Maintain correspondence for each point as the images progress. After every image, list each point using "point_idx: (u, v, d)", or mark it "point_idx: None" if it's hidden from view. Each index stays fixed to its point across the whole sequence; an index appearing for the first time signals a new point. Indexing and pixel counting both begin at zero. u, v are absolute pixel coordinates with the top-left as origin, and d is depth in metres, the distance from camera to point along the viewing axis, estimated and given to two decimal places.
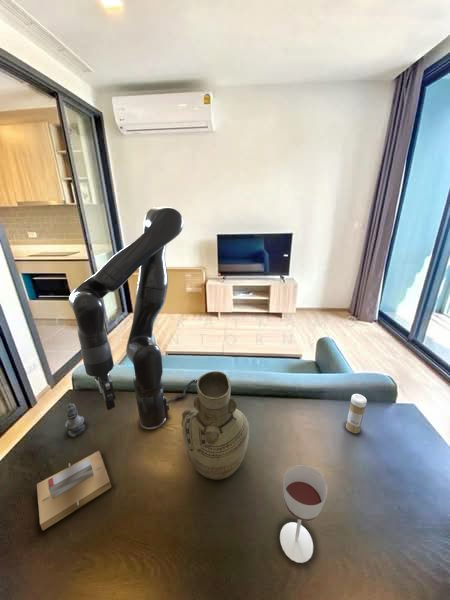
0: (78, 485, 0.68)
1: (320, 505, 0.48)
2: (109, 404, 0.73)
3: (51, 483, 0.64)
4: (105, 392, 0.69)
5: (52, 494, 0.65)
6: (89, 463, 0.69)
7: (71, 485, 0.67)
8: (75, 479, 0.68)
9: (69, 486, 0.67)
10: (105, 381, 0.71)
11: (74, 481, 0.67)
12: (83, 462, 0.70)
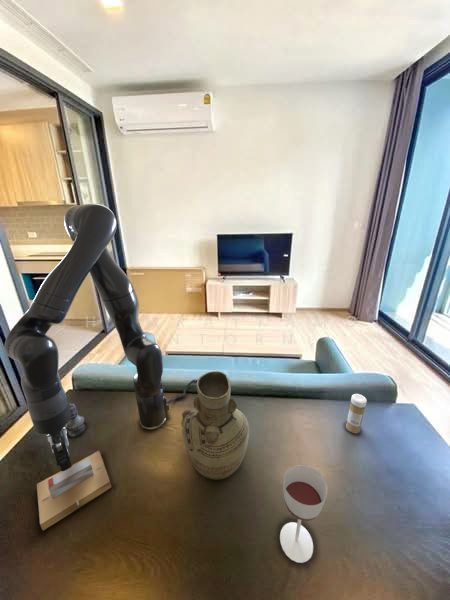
0: (78, 485, 0.68)
1: (320, 505, 0.48)
2: (63, 465, 0.60)
3: (51, 483, 0.64)
4: (56, 454, 0.57)
5: (52, 494, 0.65)
6: (89, 463, 0.69)
7: (71, 485, 0.67)
8: (75, 479, 0.68)
9: (69, 486, 0.67)
10: (57, 439, 0.58)
11: (74, 481, 0.67)
12: (83, 462, 0.70)
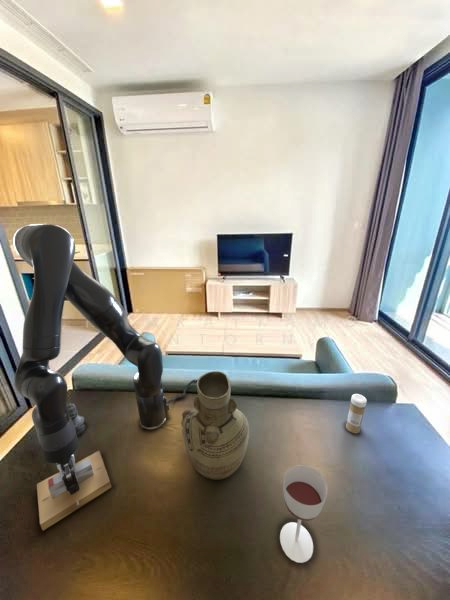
0: None
1: (320, 505, 0.48)
2: (72, 489, 0.65)
3: (51, 483, 0.64)
4: (66, 483, 0.61)
5: (52, 494, 0.65)
6: (89, 463, 0.69)
7: None
8: None
9: None
10: (67, 470, 0.62)
11: None
12: (83, 462, 0.70)
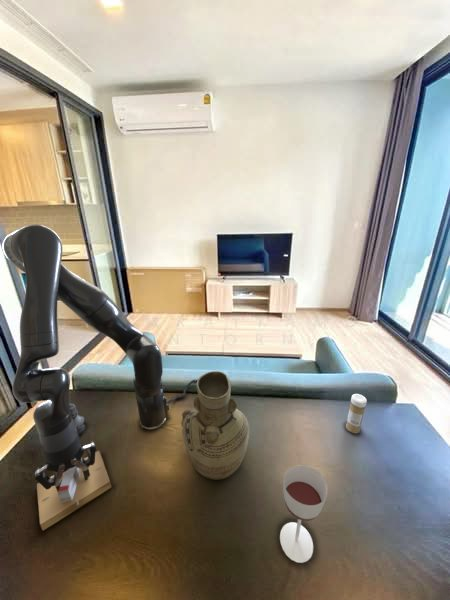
0: (78, 485, 0.68)
1: (320, 505, 0.48)
2: (88, 470, 0.70)
3: (66, 487, 0.63)
4: (95, 452, 0.69)
5: (71, 496, 0.64)
6: None
7: (76, 481, 0.68)
8: (77, 473, 0.69)
9: (76, 482, 0.68)
10: (87, 446, 0.68)
11: (77, 476, 0.69)
12: None
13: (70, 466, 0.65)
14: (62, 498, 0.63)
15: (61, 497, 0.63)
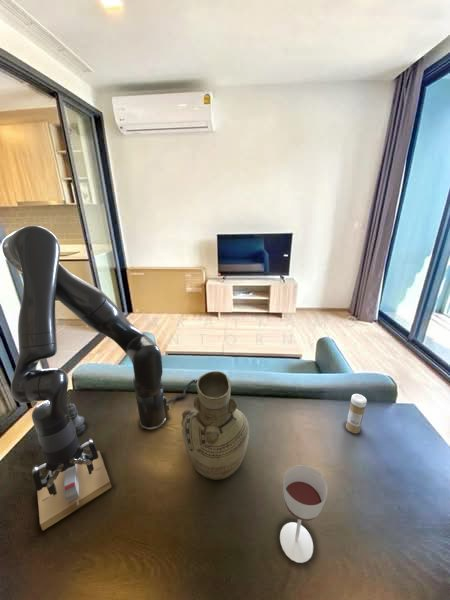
0: None
1: (320, 505, 0.48)
2: (92, 464, 0.71)
3: (72, 484, 0.64)
4: (95, 448, 0.69)
5: (77, 492, 0.65)
6: None
7: (77, 479, 0.69)
8: (76, 472, 0.69)
9: (77, 481, 0.68)
10: (85, 444, 0.68)
11: (77, 475, 0.69)
12: None
13: (69, 466, 0.66)
14: (69, 496, 0.64)
15: (68, 495, 0.64)
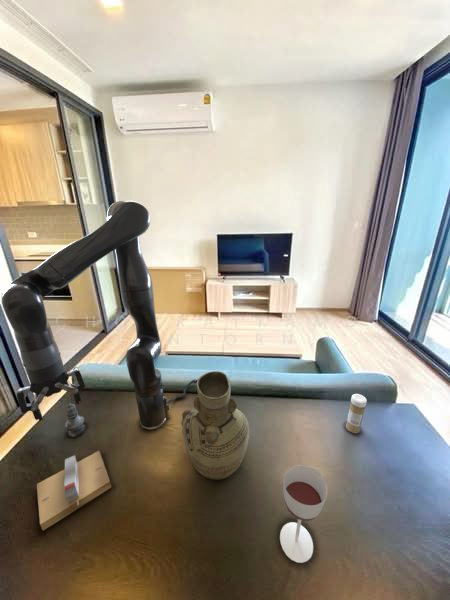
0: None
1: (320, 505, 0.48)
2: None
3: (72, 484, 0.64)
4: (81, 376, 0.69)
5: (77, 492, 0.65)
6: (72, 456, 0.71)
7: (77, 479, 0.69)
8: (76, 472, 0.69)
9: (77, 481, 0.68)
10: (70, 371, 0.67)
11: (77, 475, 0.69)
12: (67, 462, 0.70)
13: (54, 391, 0.65)
14: (69, 496, 0.64)
15: (68, 495, 0.64)
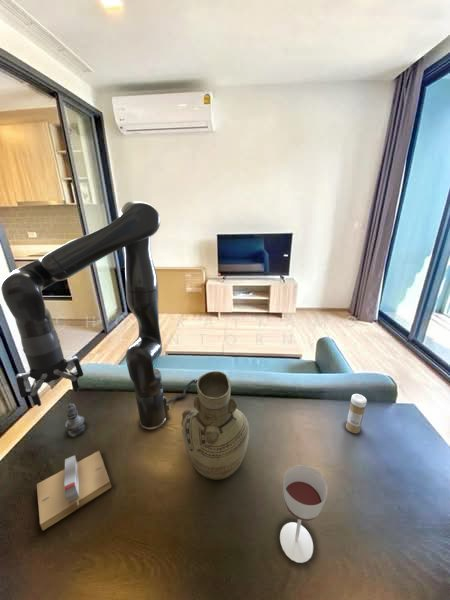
0: None
1: (320, 505, 0.48)
2: (77, 382, 0.72)
3: (72, 484, 0.64)
4: None
5: (77, 492, 0.65)
6: (72, 456, 0.71)
7: (77, 479, 0.69)
8: (76, 472, 0.69)
9: (77, 481, 0.68)
10: (69, 359, 0.69)
11: (77, 475, 0.69)
12: (67, 462, 0.70)
13: (53, 377, 0.67)
14: (69, 496, 0.64)
15: (68, 495, 0.64)
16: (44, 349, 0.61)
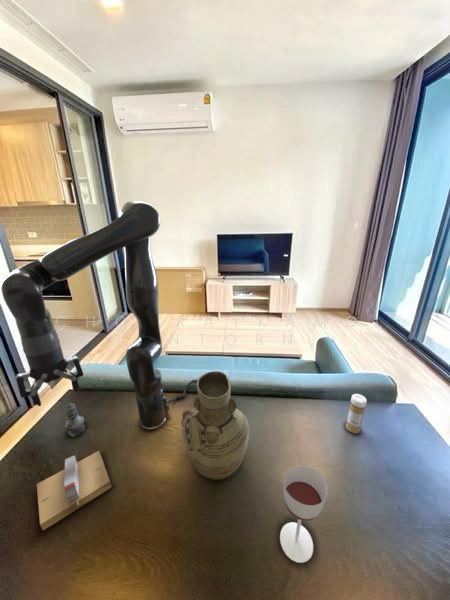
0: None
1: (320, 505, 0.48)
2: (77, 382, 0.72)
3: (72, 484, 0.64)
4: None
5: (77, 492, 0.65)
6: (72, 456, 0.71)
7: (77, 479, 0.69)
8: (76, 472, 0.69)
9: (77, 481, 0.68)
10: (69, 359, 0.69)
11: (77, 475, 0.69)
12: (67, 462, 0.70)
13: (53, 377, 0.67)
14: (69, 496, 0.64)
15: (68, 495, 0.64)
16: (44, 349, 0.61)
